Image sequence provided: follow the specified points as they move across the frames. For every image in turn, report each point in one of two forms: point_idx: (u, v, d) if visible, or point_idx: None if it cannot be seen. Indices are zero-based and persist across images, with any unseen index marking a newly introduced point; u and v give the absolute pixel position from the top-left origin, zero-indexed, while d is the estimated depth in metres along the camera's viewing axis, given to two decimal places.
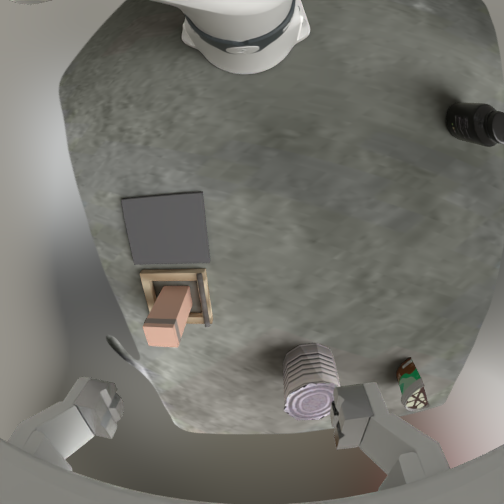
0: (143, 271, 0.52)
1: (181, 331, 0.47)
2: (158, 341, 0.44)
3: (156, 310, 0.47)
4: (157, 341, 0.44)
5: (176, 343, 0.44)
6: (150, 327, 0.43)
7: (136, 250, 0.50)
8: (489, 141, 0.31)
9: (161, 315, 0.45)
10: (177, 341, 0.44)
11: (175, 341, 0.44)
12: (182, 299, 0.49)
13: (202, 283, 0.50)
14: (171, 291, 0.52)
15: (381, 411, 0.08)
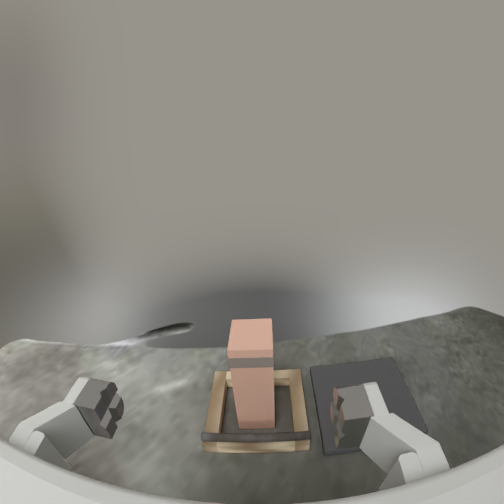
0: None
1: (237, 375, 0.26)
2: (241, 330, 0.28)
3: None
4: (241, 329, 0.28)
5: (236, 350, 0.25)
6: (270, 325, 0.29)
7: (331, 370, 0.36)
8: None
9: None
10: (237, 355, 0.25)
11: (241, 349, 0.25)
12: None
13: (293, 438, 0.25)
14: None
15: (381, 411, 0.08)
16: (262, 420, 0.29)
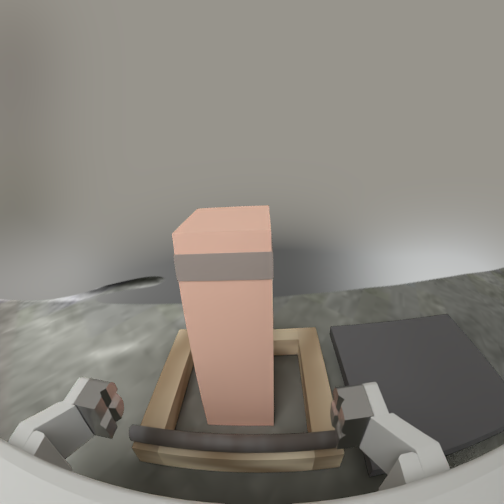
0: None
1: (196, 302, 0.13)
2: (209, 215, 0.15)
3: None
4: (210, 214, 0.15)
5: (190, 234, 0.12)
6: (265, 210, 0.15)
7: (364, 330, 0.23)
8: None
9: None
10: (192, 246, 0.12)
11: (201, 231, 0.12)
12: None
13: (312, 445, 0.12)
14: None
15: (381, 411, 0.08)
16: (250, 410, 0.15)
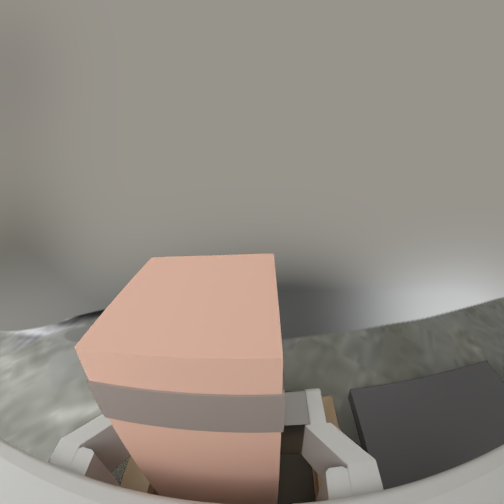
0: None
1: (144, 445, 0.06)
2: (163, 282, 0.08)
3: None
4: (165, 279, 0.08)
5: (108, 351, 0.05)
6: (268, 270, 0.08)
7: (393, 394, 0.16)
8: None
9: None
10: (116, 373, 0.05)
11: (129, 349, 0.05)
12: None
13: None
14: None
15: (318, 420, 0.08)
16: None
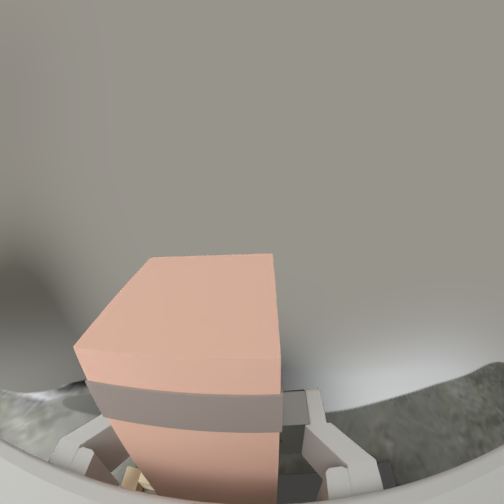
0: None
1: (143, 445, 0.06)
2: (162, 282, 0.08)
3: None
4: (164, 279, 0.08)
5: (106, 350, 0.05)
6: (266, 270, 0.08)
7: (293, 483, 0.20)
8: None
9: None
10: (115, 374, 0.05)
11: (127, 349, 0.05)
12: None
13: None
14: None
15: (318, 420, 0.08)
16: None
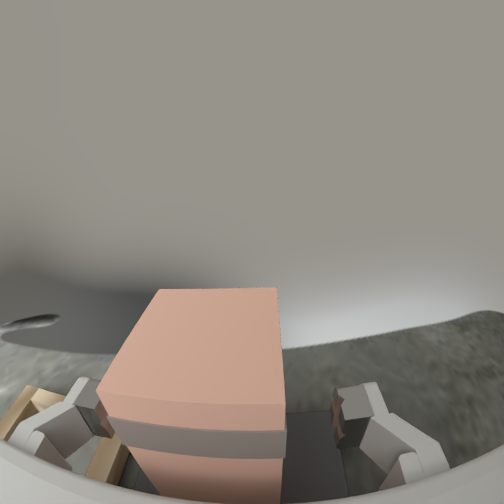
0: None
1: (159, 467, 0.06)
2: (173, 320, 0.08)
3: None
4: (174, 316, 0.08)
5: (127, 394, 0.05)
6: (271, 308, 0.09)
7: None
8: None
9: None
10: (135, 412, 0.05)
11: (147, 393, 0.05)
12: None
13: None
14: None
15: (381, 411, 0.08)
16: None
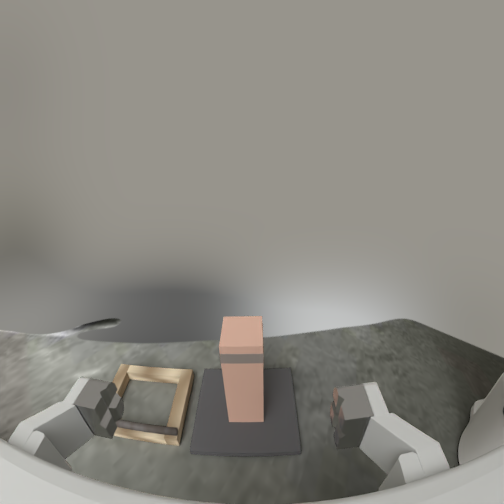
0: (192, 375, 0.38)
1: (228, 370, 0.28)
2: (232, 327, 0.29)
3: None
4: (232, 326, 0.29)
5: (227, 346, 0.27)
6: (260, 323, 0.30)
7: None
8: None
9: None
10: (228, 351, 0.27)
11: (232, 345, 0.27)
12: None
13: (161, 432, 0.27)
14: None
15: (381, 411, 0.08)
16: (251, 414, 0.30)
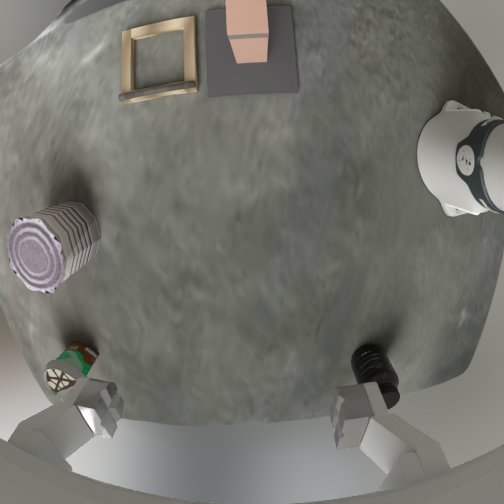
0: (195, 20, 0.32)
1: (236, 41, 0.26)
2: (236, 7, 0.22)
3: None
4: (236, 6, 0.22)
5: (234, 31, 0.23)
6: (264, 1, 0.21)
7: (224, 14, 0.31)
8: None
9: None
10: (235, 33, 0.23)
11: (239, 30, 0.23)
12: (267, 50, 0.30)
13: (182, 88, 0.34)
14: None
15: (381, 411, 0.08)
16: (256, 59, 0.33)
